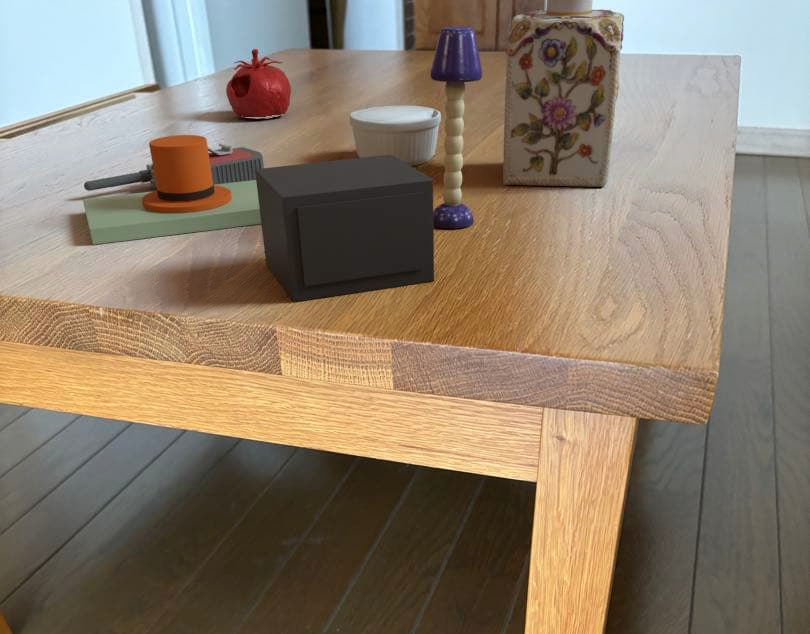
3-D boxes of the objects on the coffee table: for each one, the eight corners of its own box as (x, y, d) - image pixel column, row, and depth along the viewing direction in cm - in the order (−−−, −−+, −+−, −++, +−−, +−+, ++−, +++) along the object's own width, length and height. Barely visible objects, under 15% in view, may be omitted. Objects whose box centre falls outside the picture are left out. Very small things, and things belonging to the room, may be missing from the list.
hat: (148, 217, 86) (135, 154, 82) (138, 196, 93) (127, 136, 89) (239, 206, 88) (231, 144, 85) (223, 186, 95) (215, 128, 92)
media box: (293, 303, 70) (282, 197, 65) (266, 265, 78) (254, 169, 73) (435, 281, 73) (434, 180, 68) (394, 247, 81) (391, 154, 76)
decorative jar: (611, 163, 105) (628, -15, 95) (608, 188, 96) (628, -6, 85) (510, 162, 107) (517, -13, 97) (499, 186, 98) (505, -4, 87)
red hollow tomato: (286, 108, 142) (280, 43, 137) (299, 119, 135) (293, 49, 129) (225, 114, 140) (216, 47, 135) (235, 124, 132) (226, 54, 127)
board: (92, 245, 84) (89, 229, 83) (85, 213, 93) (82, 199, 92) (296, 219, 89) (295, 204, 88) (271, 192, 99) (269, 178, 98)
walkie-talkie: (241, 168, 109) (83, 197, 99) (236, 129, 106) (74, 155, 96) (277, 180, 103) (114, 213, 93) (273, 139, 100) (104, 169, 91)
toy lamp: (443, 214, 89) (442, 24, 80) (486, 218, 88) (491, 25, 78) (423, 227, 86) (420, 30, 76) (467, 231, 84) (470, 30, 74)
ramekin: (433, 170, 105) (433, 122, 102) (342, 169, 107) (339, 121, 104) (447, 150, 114) (447, 105, 111) (362, 149, 116) (360, 105, 113)
